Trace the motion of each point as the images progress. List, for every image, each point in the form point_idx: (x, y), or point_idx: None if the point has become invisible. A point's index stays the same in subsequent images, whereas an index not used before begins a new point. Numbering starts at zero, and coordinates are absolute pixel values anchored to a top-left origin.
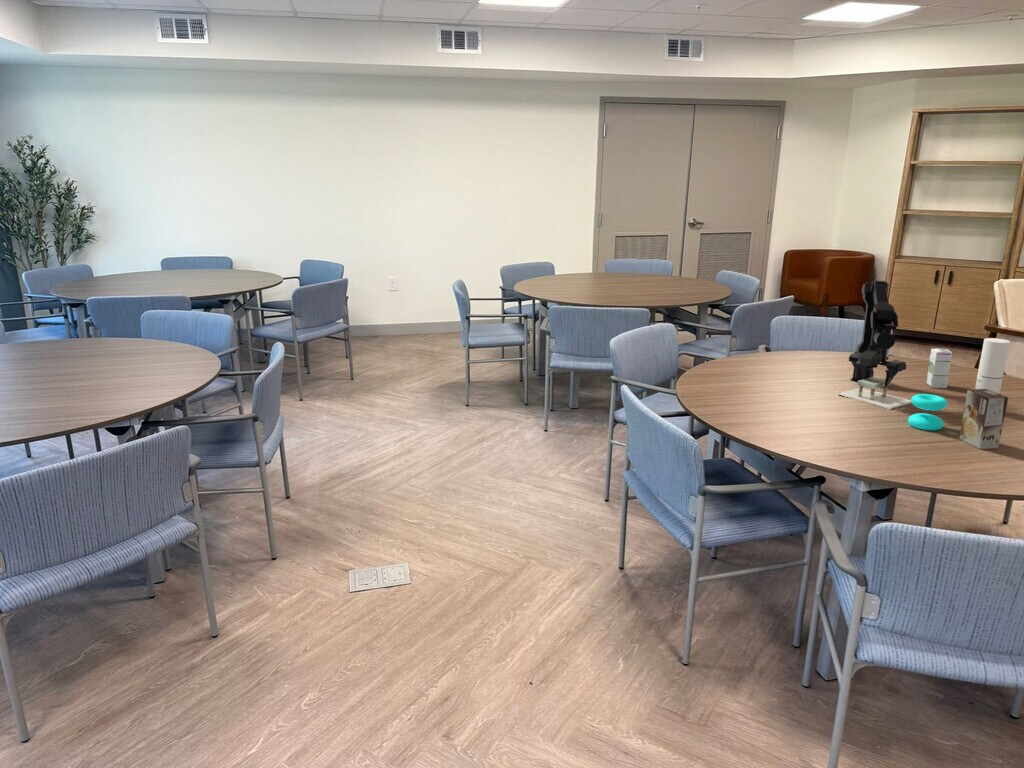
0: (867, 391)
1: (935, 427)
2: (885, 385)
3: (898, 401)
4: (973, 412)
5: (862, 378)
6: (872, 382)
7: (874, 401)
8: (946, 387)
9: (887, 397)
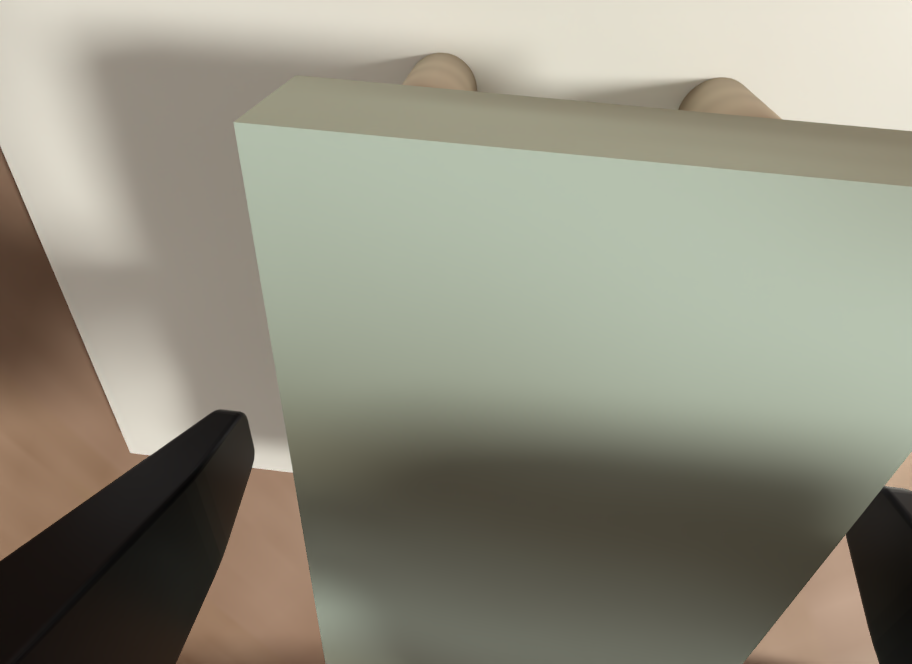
0: None
1: None
2: (194, 438)
3: (164, 327)
4: None
5: (909, 574)
6: (495, 392)
7: (335, 8)
8: None
9: None
